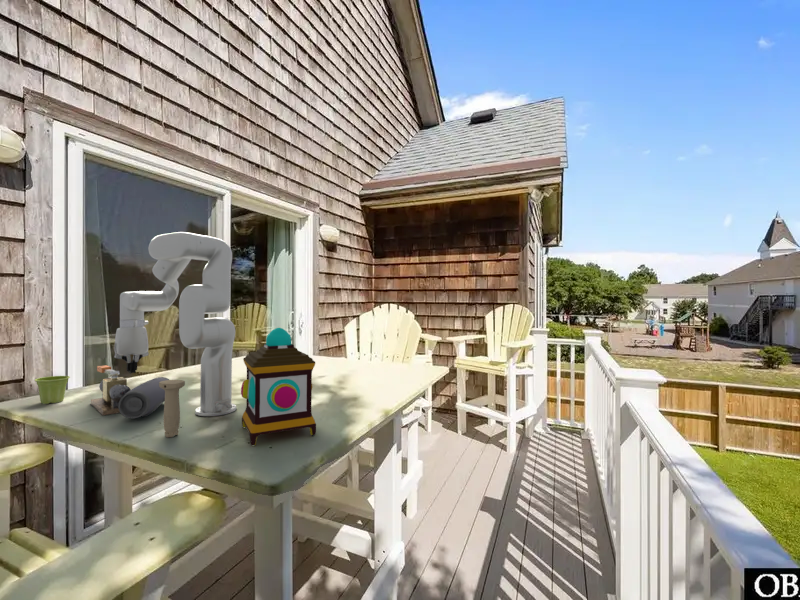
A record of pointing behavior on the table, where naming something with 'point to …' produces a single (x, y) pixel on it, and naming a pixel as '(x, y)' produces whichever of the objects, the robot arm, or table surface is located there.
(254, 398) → the decorative lantern
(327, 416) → the table surface
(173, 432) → the handle
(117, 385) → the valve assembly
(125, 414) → the bluetooth speaker
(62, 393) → the plant pot
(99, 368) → the lever
